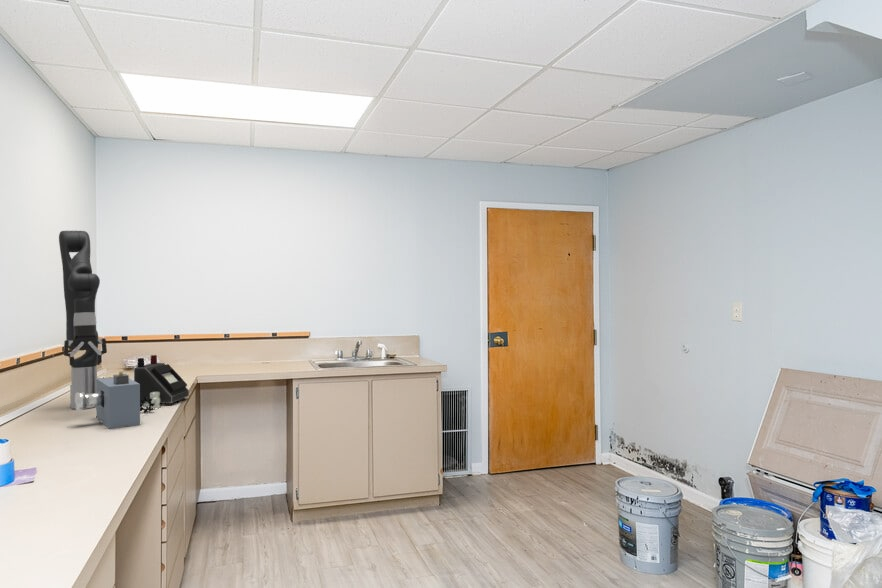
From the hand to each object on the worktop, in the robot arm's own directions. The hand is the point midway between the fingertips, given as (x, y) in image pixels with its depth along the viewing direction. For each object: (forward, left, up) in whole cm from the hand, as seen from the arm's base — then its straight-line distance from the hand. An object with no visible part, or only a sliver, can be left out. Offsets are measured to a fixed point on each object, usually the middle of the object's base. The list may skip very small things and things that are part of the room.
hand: (85, 365), depth 228 cm
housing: (+19, 0, -20) cm, 27 cm away
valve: (+13, +19, -20) cm, 30 cm away
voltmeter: (+3, +33, -20) cm, 38 cm away
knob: (+15, -8, -14) cm, 22 cm away
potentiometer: (+24, -3, -5) cm, 25 cm away
